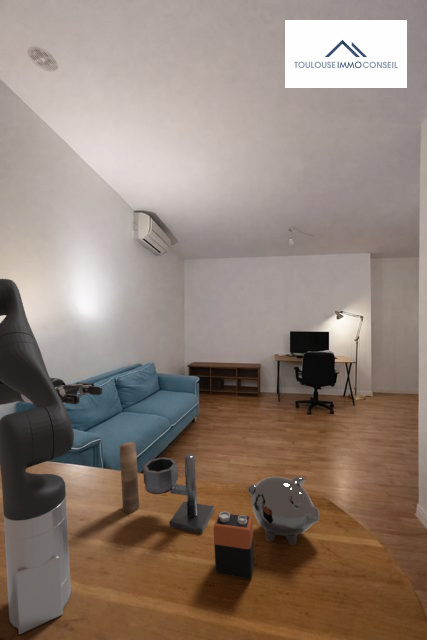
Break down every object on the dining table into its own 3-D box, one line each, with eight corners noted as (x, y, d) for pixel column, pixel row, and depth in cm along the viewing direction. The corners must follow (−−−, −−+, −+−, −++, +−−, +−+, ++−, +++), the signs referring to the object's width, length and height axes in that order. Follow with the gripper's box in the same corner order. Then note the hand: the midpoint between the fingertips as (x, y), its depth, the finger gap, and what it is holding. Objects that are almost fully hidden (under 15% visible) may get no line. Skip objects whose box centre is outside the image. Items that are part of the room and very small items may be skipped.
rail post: (141, 509, 77) (137, 446, 77) (125, 514, 75) (121, 450, 75) (136, 501, 81) (133, 441, 81) (121, 506, 79) (118, 444, 79)
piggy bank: (320, 560, 59) (317, 501, 59) (244, 544, 64) (241, 489, 64) (320, 522, 69) (318, 472, 69) (255, 511, 74) (253, 464, 74)
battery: (220, 556, 61) (218, 506, 61) (254, 561, 59) (252, 510, 59) (215, 574, 57) (212, 521, 57) (251, 581, 55) (249, 525, 55)
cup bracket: (140, 521, 73) (136, 458, 73) (156, 501, 80) (153, 444, 80) (202, 533, 68) (199, 465, 68) (213, 511, 75) (210, 450, 75)
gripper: (20, 383, 80) (69, 387, 74) (63, 372, 93) (107, 375, 88) (21, 412, 80) (70, 418, 75) (63, 397, 93) (108, 401, 88)
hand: (90, 395), depth 81 cm, fingers open, 8 cm apart
